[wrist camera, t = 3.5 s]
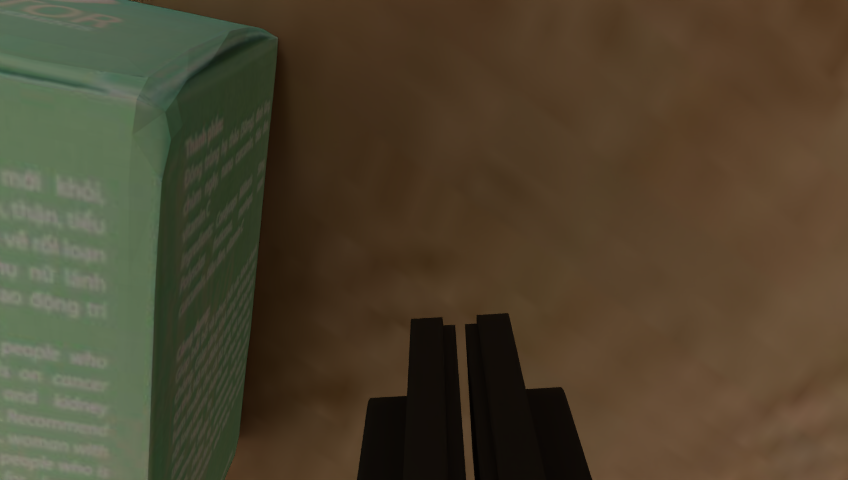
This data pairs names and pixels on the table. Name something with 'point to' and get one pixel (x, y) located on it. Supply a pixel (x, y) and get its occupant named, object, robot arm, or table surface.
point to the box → (127, 236)
